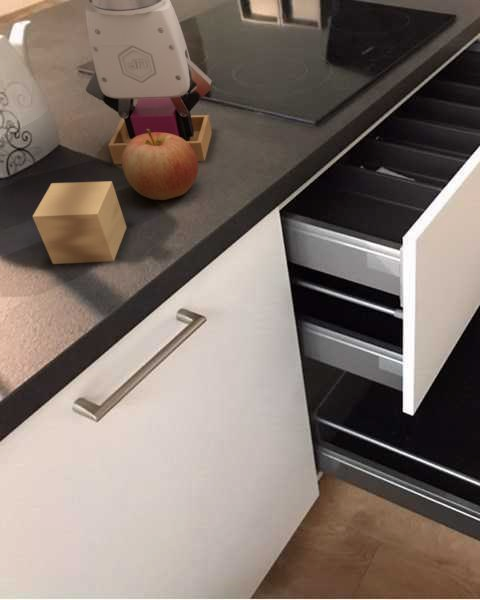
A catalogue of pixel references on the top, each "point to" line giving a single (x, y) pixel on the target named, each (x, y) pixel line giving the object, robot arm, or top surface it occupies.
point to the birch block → (80, 222)
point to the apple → (159, 165)
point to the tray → (196, 142)
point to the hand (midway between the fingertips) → (163, 140)
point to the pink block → (154, 116)
